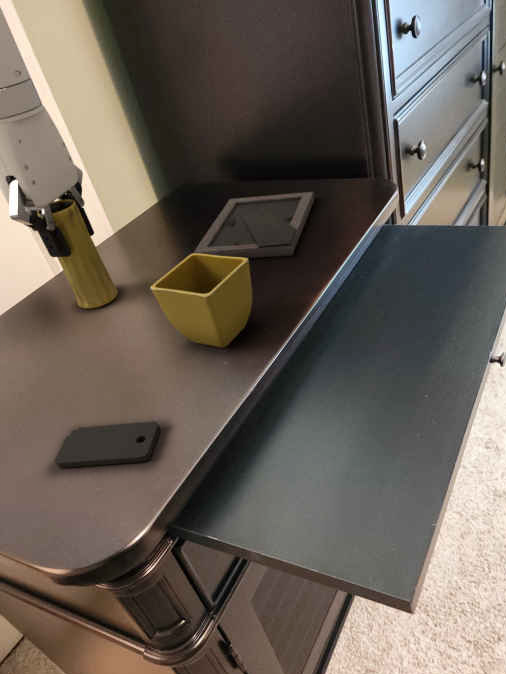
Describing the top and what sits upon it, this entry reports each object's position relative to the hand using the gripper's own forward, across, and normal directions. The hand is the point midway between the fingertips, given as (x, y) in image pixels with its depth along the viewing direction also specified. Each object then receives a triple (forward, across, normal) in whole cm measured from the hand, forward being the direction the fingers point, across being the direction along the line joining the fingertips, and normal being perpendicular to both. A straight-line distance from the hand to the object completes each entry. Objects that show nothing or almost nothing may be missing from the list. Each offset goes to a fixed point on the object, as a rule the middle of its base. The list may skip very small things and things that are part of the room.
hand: (73, 244), depth 74 cm
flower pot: (+9, +9, +23) cm, 27 cm away
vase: (+9, 0, 0) cm, 9 cm away
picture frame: (+9, -22, +19) cm, 31 cm away
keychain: (+9, +29, +18) cm, 35 cm away
